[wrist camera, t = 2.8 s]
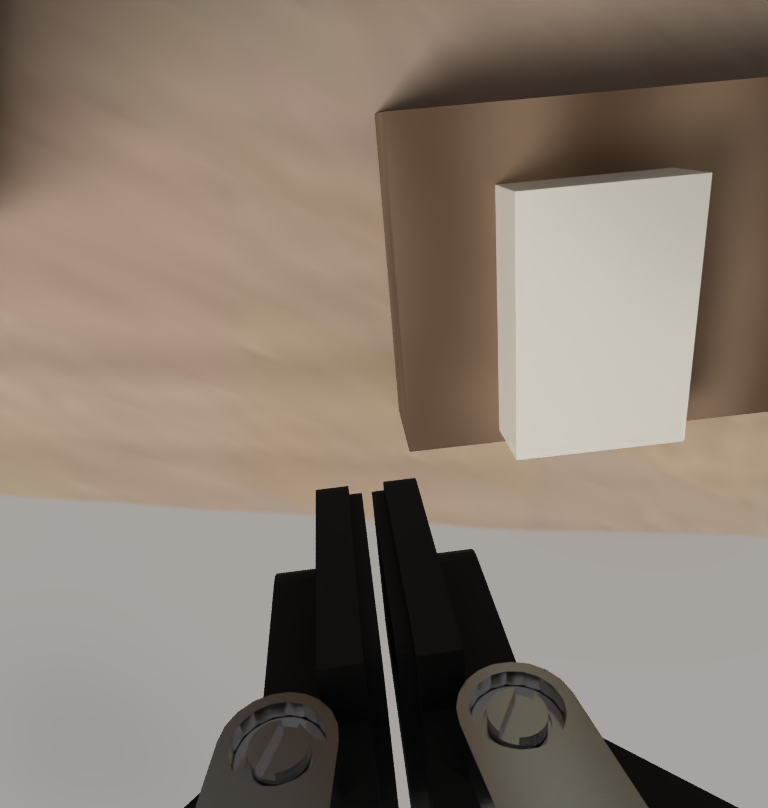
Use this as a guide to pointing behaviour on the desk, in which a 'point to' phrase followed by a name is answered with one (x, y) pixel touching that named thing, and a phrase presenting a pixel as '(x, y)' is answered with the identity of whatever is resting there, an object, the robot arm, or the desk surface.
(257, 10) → the desk surface
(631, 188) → the white rectangular block
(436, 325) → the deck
